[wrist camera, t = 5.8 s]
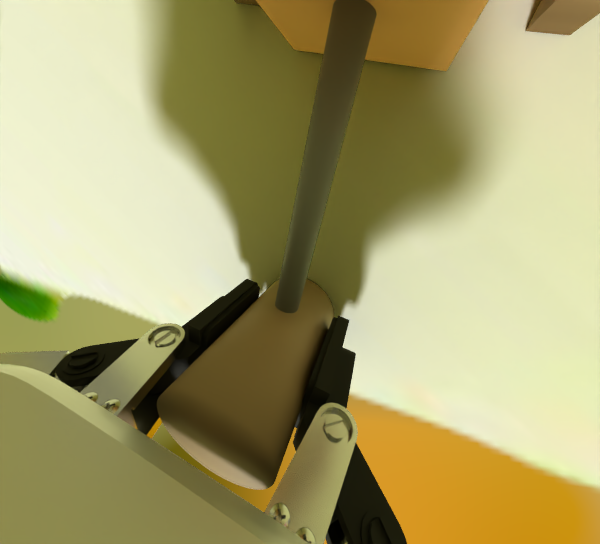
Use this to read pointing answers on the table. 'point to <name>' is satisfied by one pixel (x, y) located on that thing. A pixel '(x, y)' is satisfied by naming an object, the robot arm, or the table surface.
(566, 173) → the table surface
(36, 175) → the table surface
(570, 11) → the frame
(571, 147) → the table surface
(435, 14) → the tan block with rod
